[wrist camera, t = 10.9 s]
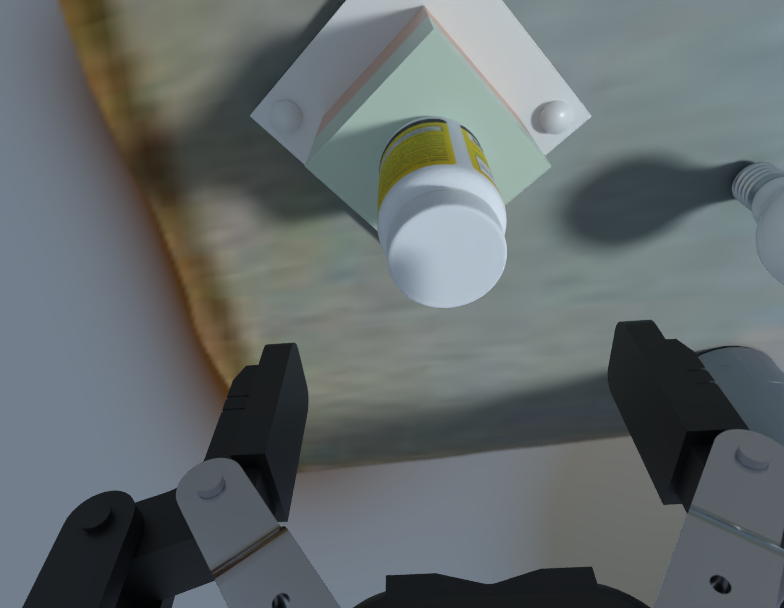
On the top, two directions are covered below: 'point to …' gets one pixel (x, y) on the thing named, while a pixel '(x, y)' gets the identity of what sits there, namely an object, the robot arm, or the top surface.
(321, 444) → the top surface
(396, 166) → the supplement bottle
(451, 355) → the top surface
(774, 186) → the lightbulb
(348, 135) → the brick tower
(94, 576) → the robot arm
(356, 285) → the top surface
